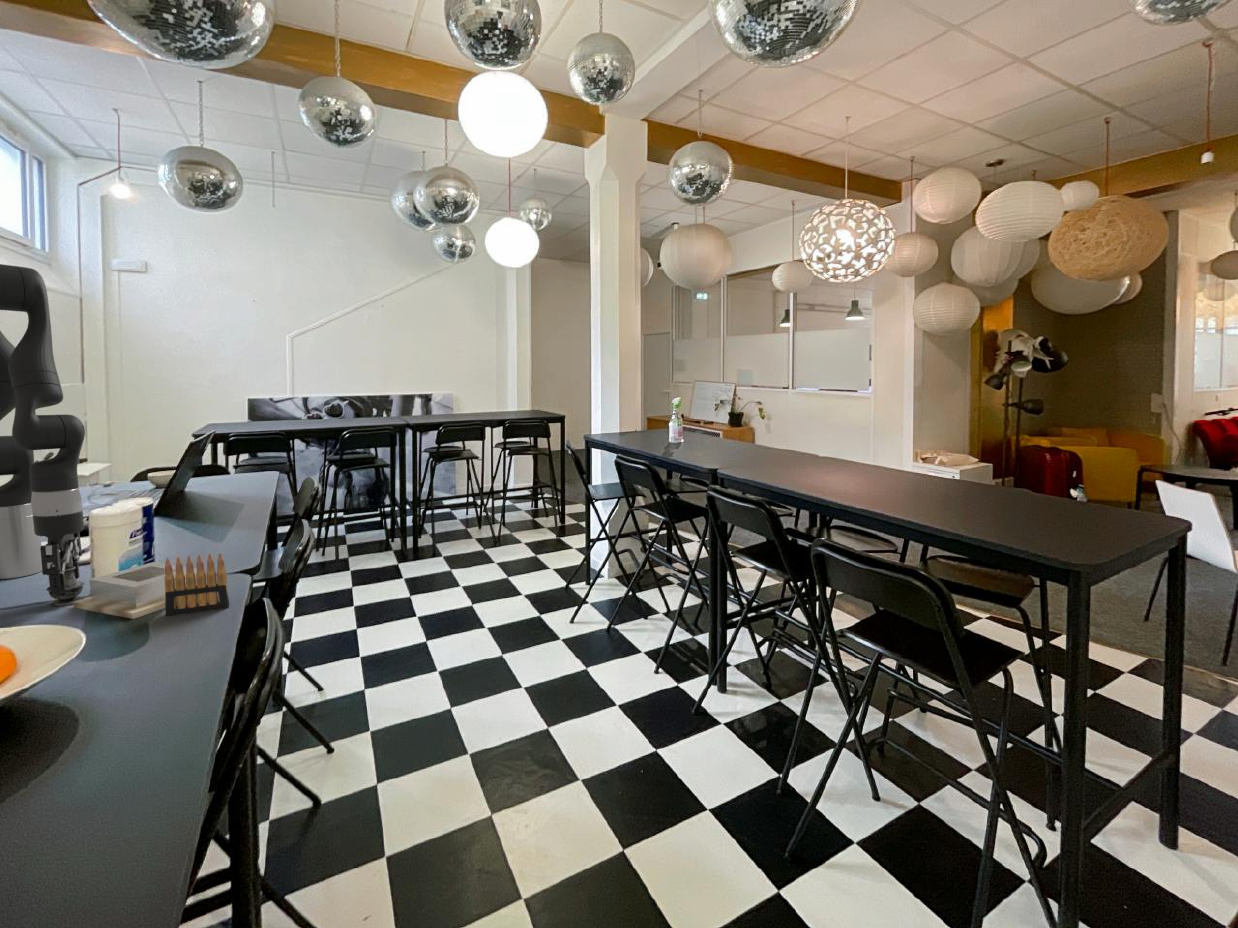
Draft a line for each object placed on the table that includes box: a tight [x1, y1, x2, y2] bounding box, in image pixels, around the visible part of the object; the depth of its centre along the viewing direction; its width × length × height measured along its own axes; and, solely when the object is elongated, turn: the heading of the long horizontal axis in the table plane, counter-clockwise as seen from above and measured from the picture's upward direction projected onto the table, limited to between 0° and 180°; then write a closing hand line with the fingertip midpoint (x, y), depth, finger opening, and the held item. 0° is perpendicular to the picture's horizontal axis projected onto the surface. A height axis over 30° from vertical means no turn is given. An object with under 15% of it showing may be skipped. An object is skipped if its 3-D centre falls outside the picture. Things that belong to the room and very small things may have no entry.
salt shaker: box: [46, 553, 85, 608], centre depth 121 cm, size 6×6×12 cm
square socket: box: [89, 561, 197, 608], centre depth 125 cm, size 13×13×4 cm
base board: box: [73, 595, 187, 620], centre depth 125 cm, size 17×17×1 cm
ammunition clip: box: [164, 552, 230, 617], centre depth 119 cm, size 11×2×12 cm, turn 120°
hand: (65, 585), depth 121 cm, fingers open, 8 cm apart
